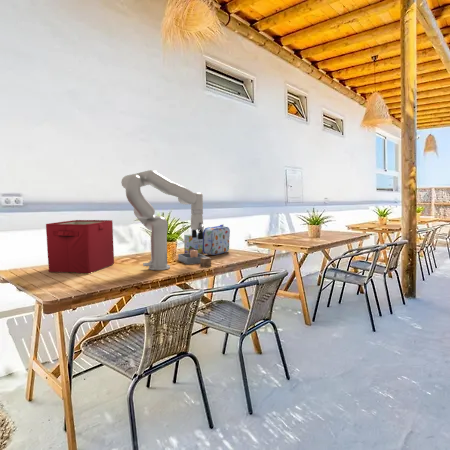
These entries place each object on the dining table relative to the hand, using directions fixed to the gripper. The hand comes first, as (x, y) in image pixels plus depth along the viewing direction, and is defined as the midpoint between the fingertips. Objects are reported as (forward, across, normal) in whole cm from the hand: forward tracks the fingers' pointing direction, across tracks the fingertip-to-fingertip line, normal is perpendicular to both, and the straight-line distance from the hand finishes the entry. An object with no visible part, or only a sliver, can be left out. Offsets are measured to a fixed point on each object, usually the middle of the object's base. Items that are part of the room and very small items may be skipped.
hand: (197, 238), depth 216 cm
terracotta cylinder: (+16, -5, -1) cm, 16 cm away
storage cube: (+17, -22, -67) cm, 72 cm away
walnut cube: (+16, +10, +1) cm, 19 cm away
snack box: (+17, -37, +16) cm, 44 cm away
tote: (+16, -8, 0) cm, 18 cm away
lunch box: (+16, -27, +28) cm, 42 cm away
